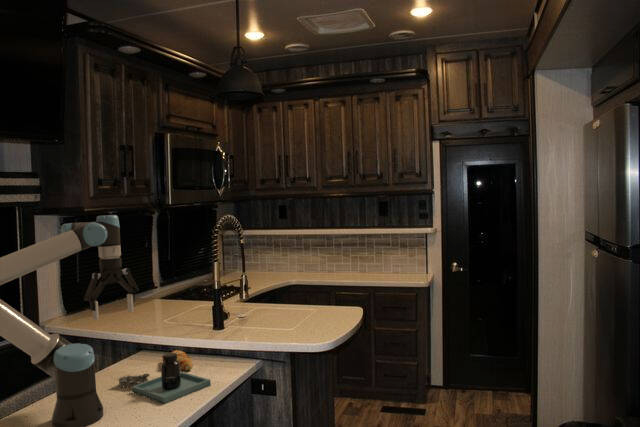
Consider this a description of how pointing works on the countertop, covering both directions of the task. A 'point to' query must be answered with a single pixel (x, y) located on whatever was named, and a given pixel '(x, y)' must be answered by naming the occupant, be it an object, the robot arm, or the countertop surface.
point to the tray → (159, 394)
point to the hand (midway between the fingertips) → (113, 315)
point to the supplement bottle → (170, 372)
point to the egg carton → (132, 380)
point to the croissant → (183, 360)
